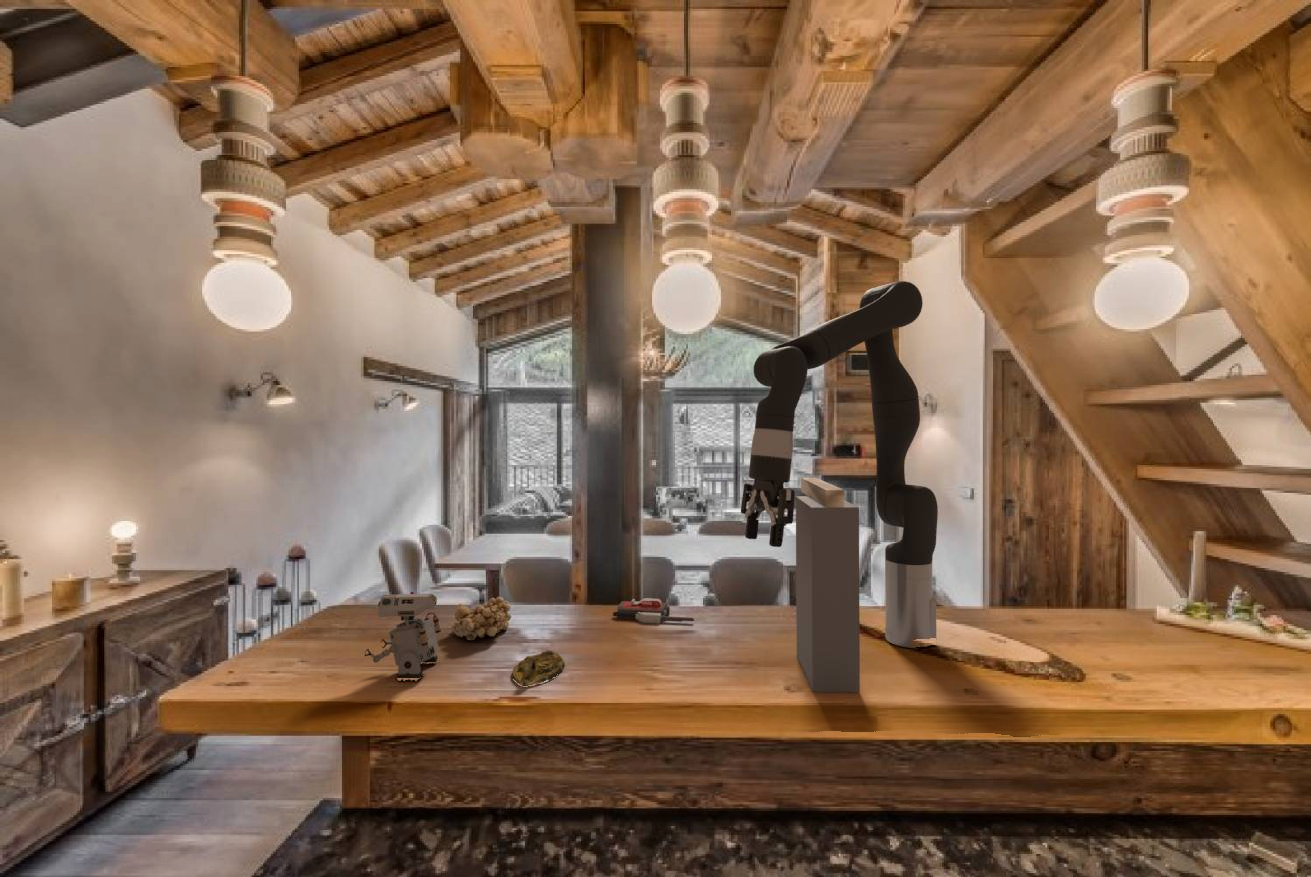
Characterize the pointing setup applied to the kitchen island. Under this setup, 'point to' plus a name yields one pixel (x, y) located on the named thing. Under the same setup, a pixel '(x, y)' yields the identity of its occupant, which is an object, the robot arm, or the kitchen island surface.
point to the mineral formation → (482, 619)
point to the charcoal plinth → (828, 595)
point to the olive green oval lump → (538, 668)
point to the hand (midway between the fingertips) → (762, 542)
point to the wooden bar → (823, 492)
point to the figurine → (410, 632)
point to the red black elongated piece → (647, 611)
